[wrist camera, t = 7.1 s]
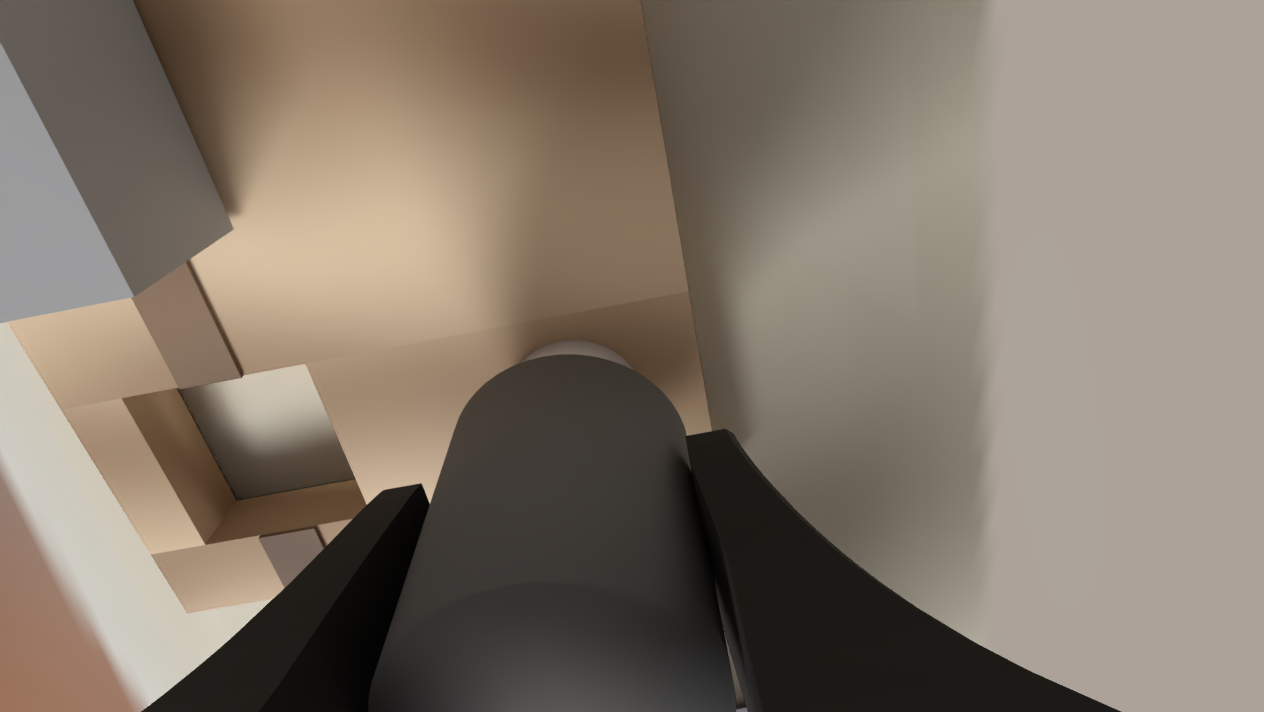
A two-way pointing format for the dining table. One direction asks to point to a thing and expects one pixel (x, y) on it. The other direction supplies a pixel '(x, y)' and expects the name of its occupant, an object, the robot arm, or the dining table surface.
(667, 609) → the dark grey piece
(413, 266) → the plank
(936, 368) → the dining table surface
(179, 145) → the block
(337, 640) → the robot arm
